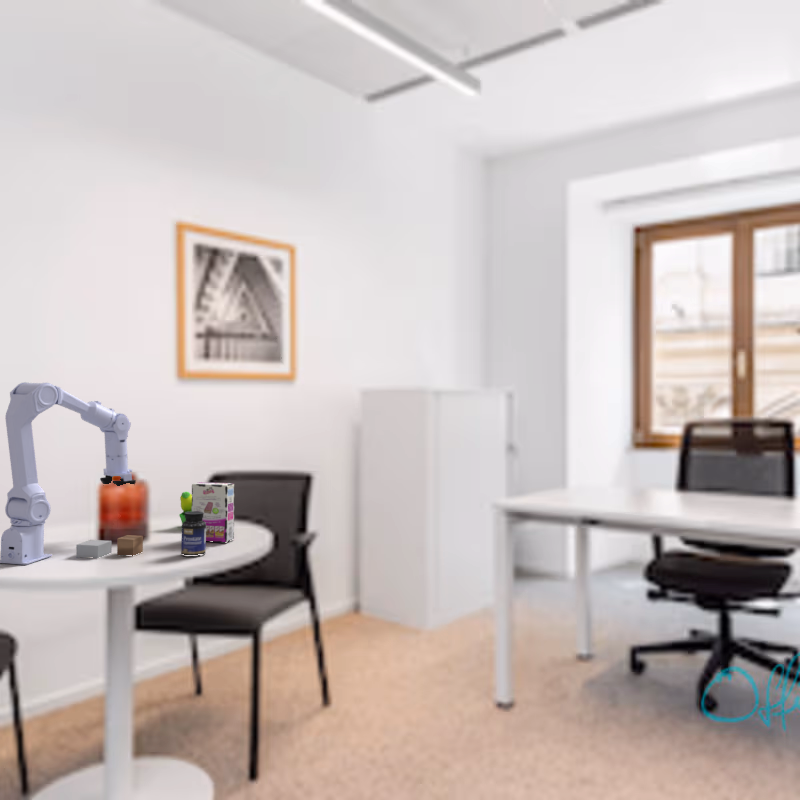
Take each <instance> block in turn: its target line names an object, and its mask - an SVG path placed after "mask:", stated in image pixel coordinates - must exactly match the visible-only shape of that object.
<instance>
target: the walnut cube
mask: <svg viewBox="0 0 800 800" xmlns="http://www.w3.org/2000/svg"><path fill="white" fill-rule="evenodd" d="M116 540H117V541H116V542H117V543H116V544H117V547H116V551H117V553H116V555H132V556H133V555H136V554H138V553H141V552H143V550H144V536H143V535H135V534H134V535H133V534H132V535H129V534H127V535H124V536H121V537H118V538H117V539H116ZM143 553H144V552H143ZM141 554H142V553H141ZM136 556H137V555H136Z"/></svg>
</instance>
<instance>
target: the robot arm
mask: <svg viewBox="0 0 800 800" xmlns="http://www.w3.org/2000/svg"><path fill="white" fill-rule="evenodd" d="M9 398H10V401H9V404H8V407H7V410H6V413H5V425H6V426H5V427H6V435H7V443H8V444H7V445H8V452H9V461H10V470H11V476H12V477H11V478H12V485H13V486H12V488H11V489H10V490H9V491H8V492H7V494H6V495H7V499H6V500H7V501H6V504H5V507H4V509H5V515H6V516H7V518H8V519H10V524H11V525H10V526H9V528H7V529H6V530H4V531H3V533H2V534H1V537H0V564H11V565H24V566H25V565H29V564H32V563H35V562H38V561H42V560H44V559H47V558H50V557H52V555H53V554H51V553H45V552H44V551H45V544H44V543H45V542H44V541H45V539H44V538H45V524H46V520H48V518H49V516H50V515H51V510H52V509H51V504H50V502H49V500H48V499H47V497H46V492H45V490H44V489H43V488H42V487H41V486H40V484H39V479H38V471H37V469H38V468H37V461H36V452H35V443H34V436H33V425H32V422H33V421H34V420H35V419H36V418H37V417H38V416H39V415H40V414H42V413H43V412H45V411H47V410H49V409H50V408H52V407H53V406H55V405H58V406H60V407H63V408H65V409H68V410H69V411H73V412H75V413H77V414H80V418H81V420H82V421H84V422H86V423H88V424H91V425H93V426H95V427H97V428H98V429H99V430H100V431H101V433H104V449H105V450H104V451H105V468H103V477H100V479H99V481H101V483H102V485H103V484H109V483H111V481H112V477H113V476H120V477H121V479H120V480H121V481H113V483H114V484H116V485H117V486H120V485H123V484H126V483H130V484H134V485H135V484H136V479H133V473H132V472H133V469H131V468H129V461H128V460H129V459H128V442H127V441H128V440H127V439H128V437H129V431H130V428H131V426H132V422H130V419H129V418H128V416H127V415H126V414H125V413H121V412H119V413H117V412H115V409H114V408H108V407H106V406H104V405H102V401H98V400H94V401H88V402H86V401H84V400H83V399H80V398H79V397H77V396H75V395H73V394H71V393H70V392H68V391H66V390H65V389H62V387H60V386H57V385H54V384H53V383H50V382H42V383H41V382H26V381H25V382H21V383H19V384H17V385H16V386H15V387H14V388H13V389H12V390H11V391H10V392H9Z"/></svg>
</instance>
